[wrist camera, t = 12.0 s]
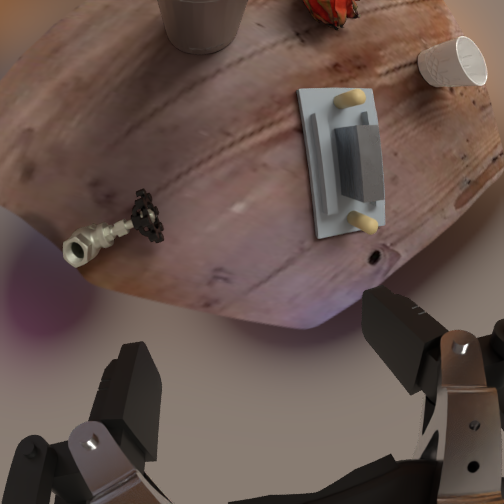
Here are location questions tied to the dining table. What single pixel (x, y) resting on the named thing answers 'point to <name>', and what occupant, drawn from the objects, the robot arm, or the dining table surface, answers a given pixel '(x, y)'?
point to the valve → (113, 232)
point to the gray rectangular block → (360, 162)
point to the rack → (336, 158)
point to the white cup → (453, 64)
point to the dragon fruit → (332, 11)
